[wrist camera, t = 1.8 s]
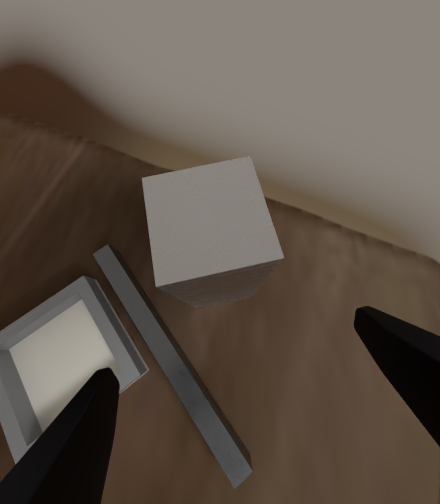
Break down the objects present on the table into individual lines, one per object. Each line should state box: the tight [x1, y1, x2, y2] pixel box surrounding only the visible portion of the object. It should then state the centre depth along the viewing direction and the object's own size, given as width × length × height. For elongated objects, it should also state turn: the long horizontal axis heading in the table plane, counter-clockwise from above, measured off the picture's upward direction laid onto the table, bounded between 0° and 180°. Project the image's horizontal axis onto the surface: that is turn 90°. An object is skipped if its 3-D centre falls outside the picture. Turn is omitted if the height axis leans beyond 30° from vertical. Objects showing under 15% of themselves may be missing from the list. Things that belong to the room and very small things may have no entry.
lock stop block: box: [142, 156, 284, 309], centre depth 15 cm, size 5×5×12 cm
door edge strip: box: [93, 244, 253, 489], centre depth 18 cm, size 20×2×2 cm, turn 38°
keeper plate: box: [0, 275, 149, 464], centre depth 18 cm, size 10×10×2 cm
